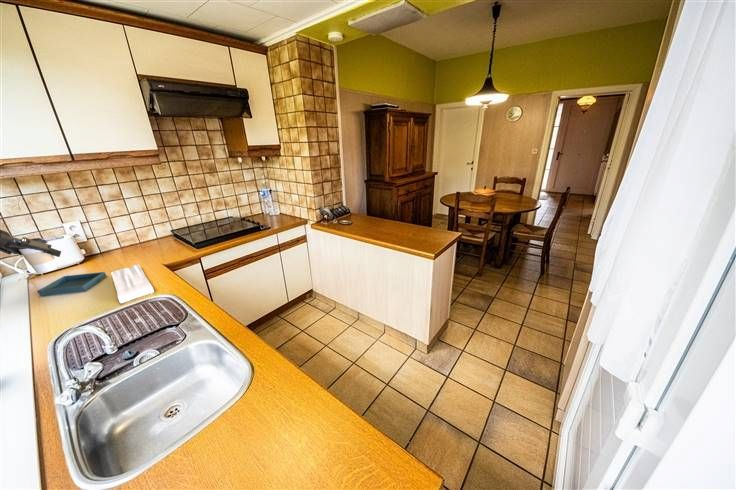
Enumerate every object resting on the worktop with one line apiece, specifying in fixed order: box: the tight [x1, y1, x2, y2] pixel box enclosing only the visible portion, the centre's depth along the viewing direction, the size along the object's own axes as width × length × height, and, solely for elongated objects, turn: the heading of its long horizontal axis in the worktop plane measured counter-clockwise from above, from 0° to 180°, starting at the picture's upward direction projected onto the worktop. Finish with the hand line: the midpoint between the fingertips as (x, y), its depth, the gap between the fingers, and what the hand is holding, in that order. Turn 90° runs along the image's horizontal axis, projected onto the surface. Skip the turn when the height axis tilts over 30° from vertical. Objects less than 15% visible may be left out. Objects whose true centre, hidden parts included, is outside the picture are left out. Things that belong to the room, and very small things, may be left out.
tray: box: [36, 271, 108, 298], centre depth 136 cm, size 20×15×3 cm
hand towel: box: [110, 263, 155, 304], centre depth 134 cm, size 12×4×40 cm
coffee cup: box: [17, 237, 58, 274], centre depth 121 cm, size 9×9×15 cm
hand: (48, 255), depth 125 cm, fingers closed on coffee cup, 9 cm apart
